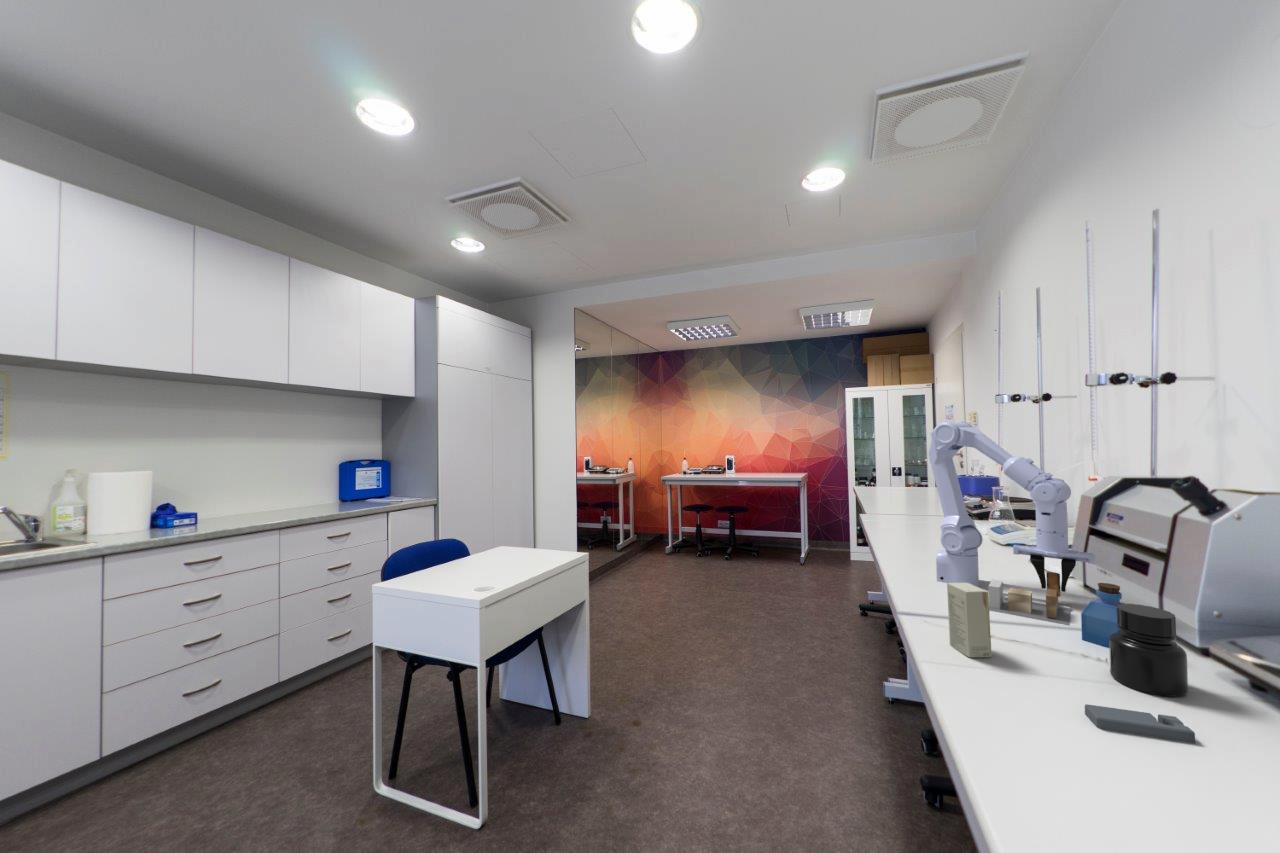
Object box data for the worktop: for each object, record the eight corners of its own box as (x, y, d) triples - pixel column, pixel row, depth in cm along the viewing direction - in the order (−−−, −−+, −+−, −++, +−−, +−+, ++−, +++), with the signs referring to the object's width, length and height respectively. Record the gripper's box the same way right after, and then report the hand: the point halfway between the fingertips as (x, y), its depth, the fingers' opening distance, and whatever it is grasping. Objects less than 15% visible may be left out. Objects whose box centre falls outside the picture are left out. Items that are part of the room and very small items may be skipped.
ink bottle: (1154, 671, 85) (1152, 601, 85) (1208, 699, 76) (1206, 621, 76) (1093, 670, 86) (1091, 601, 86) (1139, 697, 77) (1137, 620, 77)
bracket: (1084, 716, 73) (1083, 703, 73) (1176, 730, 69) (1176, 715, 69) (1097, 732, 69) (1097, 718, 69) (1196, 747, 66) (1196, 732, 66)
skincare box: (992, 658, 91) (990, 592, 91) (968, 658, 91) (967, 592, 91) (970, 643, 97) (968, 581, 97) (947, 643, 97) (946, 581, 97)
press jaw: (1044, 616, 107) (1043, 584, 107) (1047, 600, 116) (1046, 571, 116) (1058, 618, 105) (1057, 587, 105) (1060, 602, 115) (1059, 573, 115)
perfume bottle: (1082, 645, 95) (1080, 583, 95) (1098, 639, 98) (1096, 578, 98) (1124, 658, 90) (1121, 592, 90) (1140, 651, 92) (1138, 587, 92)
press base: (987, 614, 112) (987, 587, 112) (997, 596, 124) (996, 572, 124) (1069, 630, 102) (1068, 601, 102) (1071, 608, 114) (1070, 582, 114)
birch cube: (1008, 609, 112) (1008, 592, 112) (1010, 604, 115) (1010, 587, 115) (1030, 613, 109) (1030, 595, 109) (1032, 608, 112) (1031, 591, 112)
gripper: (1011, 530, 117) (1012, 587, 117) (1094, 537, 107) (1096, 600, 107) (1014, 525, 122) (1015, 580, 122) (1093, 532, 112) (1095, 592, 112)
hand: (1053, 589), depth 115 cm, fingers open, 3 cm apart
